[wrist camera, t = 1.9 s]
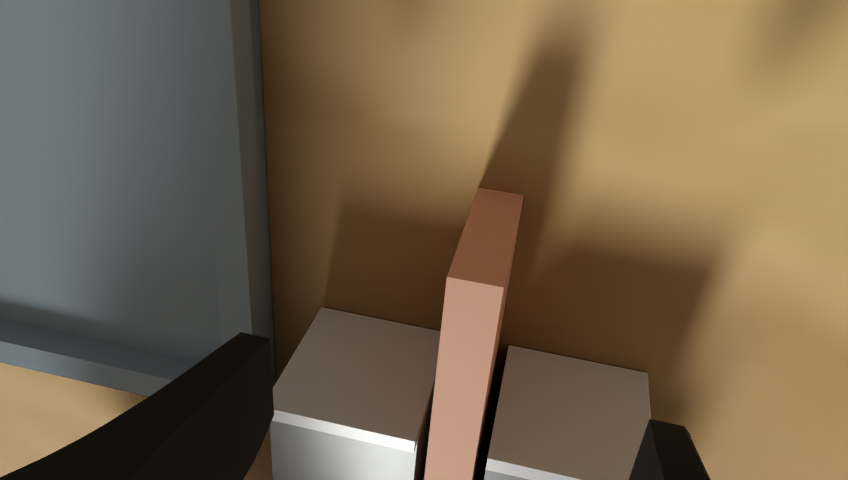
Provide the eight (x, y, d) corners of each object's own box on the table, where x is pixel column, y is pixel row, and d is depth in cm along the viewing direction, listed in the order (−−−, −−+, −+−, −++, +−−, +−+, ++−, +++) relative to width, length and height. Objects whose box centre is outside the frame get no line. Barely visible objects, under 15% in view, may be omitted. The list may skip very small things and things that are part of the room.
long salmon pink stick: (476, 477, 24) (452, 599, 20) (441, 469, 24) (411, 588, 20) (524, 192, 18) (503, 287, 14) (478, 184, 18) (446, 277, 15)
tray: (276, 390, 24) (257, 421, 22) (-57, 316, 26) (-92, 341, 24) (249, -202, 15) (216, -205, 14) (-257, -247, 17) (-328, -253, 15)
